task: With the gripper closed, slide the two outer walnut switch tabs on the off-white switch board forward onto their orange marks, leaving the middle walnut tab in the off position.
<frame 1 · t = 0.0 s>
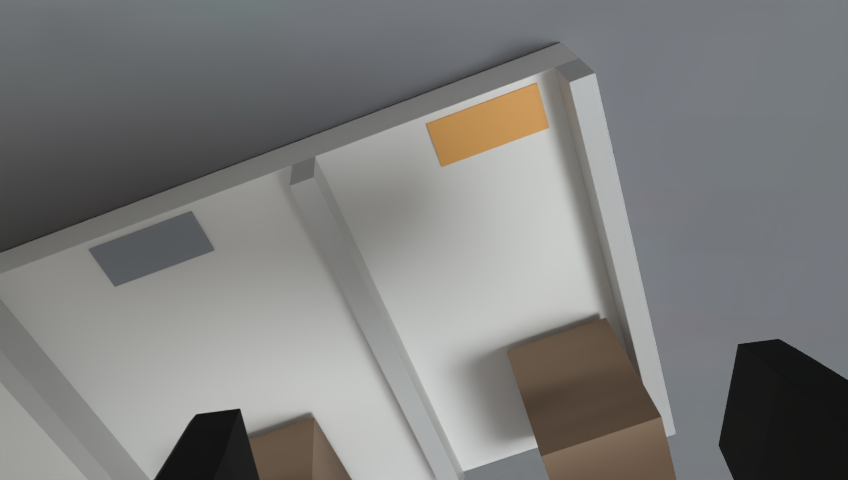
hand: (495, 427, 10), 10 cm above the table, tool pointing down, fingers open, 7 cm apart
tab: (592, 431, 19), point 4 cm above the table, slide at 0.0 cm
switch board: (251, 358, 22), on the table
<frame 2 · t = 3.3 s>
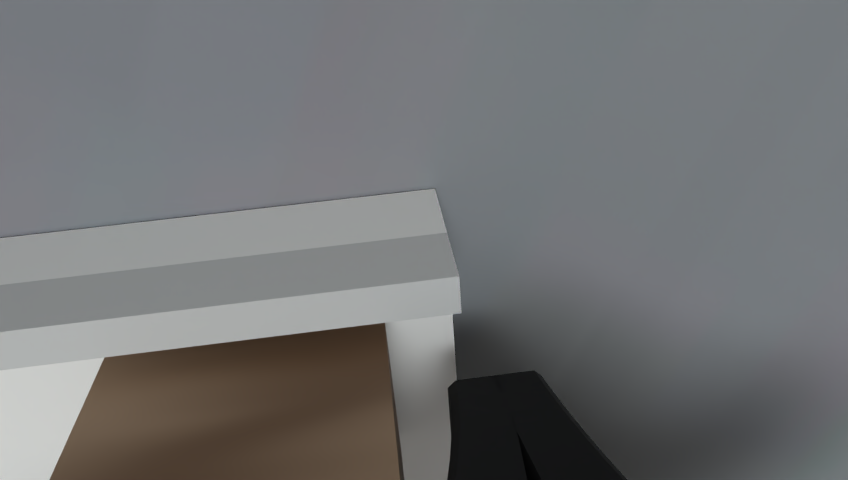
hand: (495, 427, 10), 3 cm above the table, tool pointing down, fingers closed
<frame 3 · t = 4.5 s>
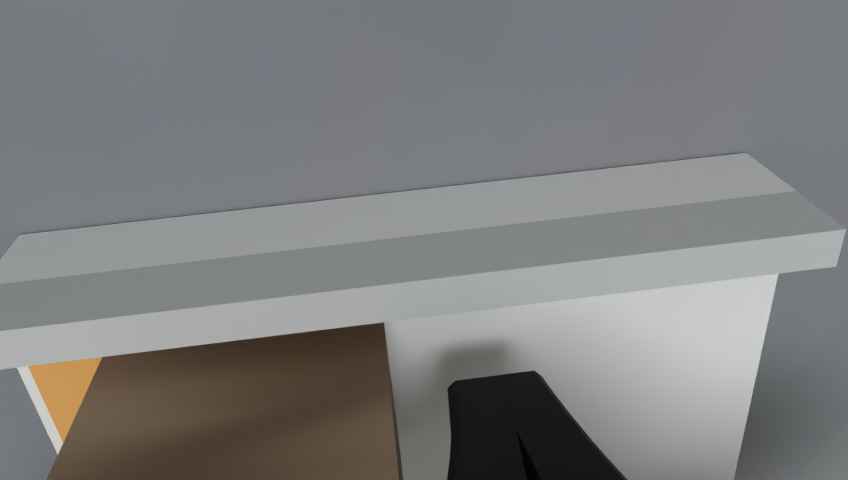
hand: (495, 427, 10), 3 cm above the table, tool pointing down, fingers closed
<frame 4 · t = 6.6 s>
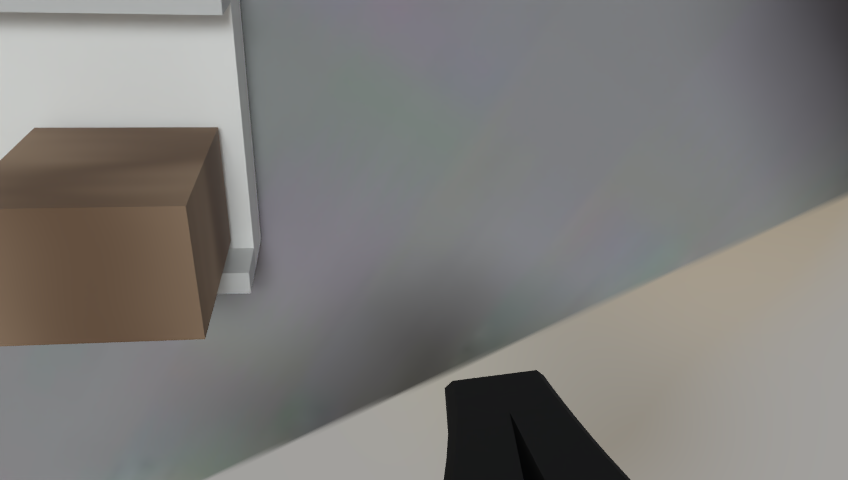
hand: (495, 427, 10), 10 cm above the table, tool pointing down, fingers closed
tab 1: (115, 227, 15), point 4 cm above the table, slide at 0.0 cm
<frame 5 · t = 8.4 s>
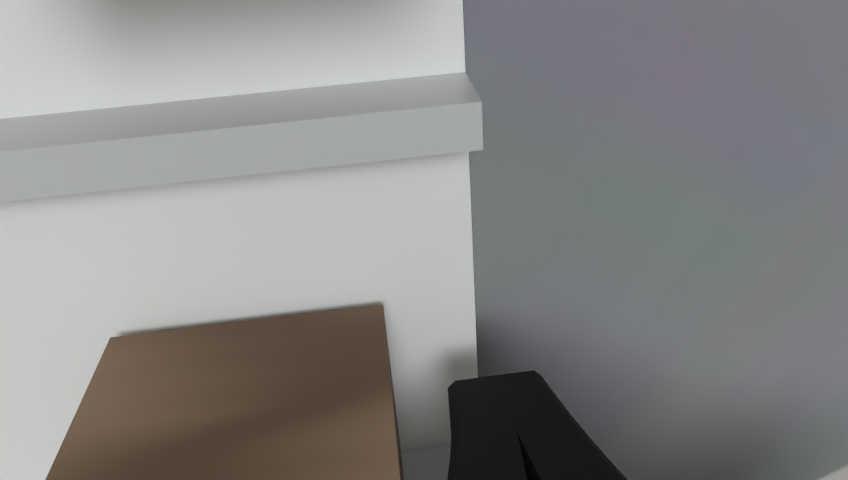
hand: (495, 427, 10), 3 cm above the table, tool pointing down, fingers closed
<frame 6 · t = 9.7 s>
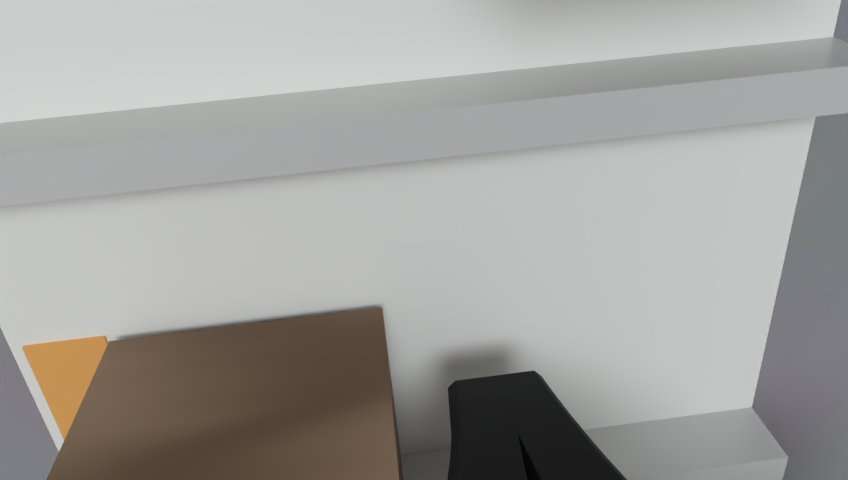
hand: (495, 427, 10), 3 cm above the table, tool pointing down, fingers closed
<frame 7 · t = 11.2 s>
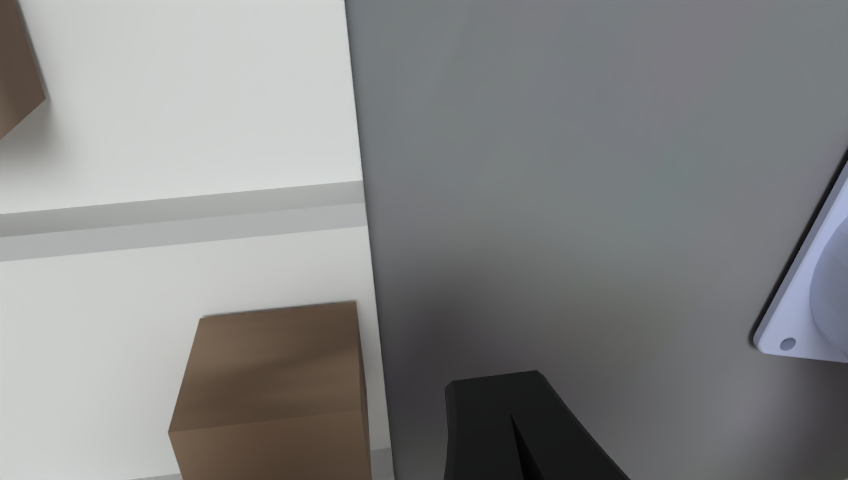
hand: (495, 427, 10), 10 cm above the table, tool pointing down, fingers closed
switch board: (168, 329, 20), on the table
tab middle: (282, 407, 17), point 4 cm above the table, slide at 0.0 cm
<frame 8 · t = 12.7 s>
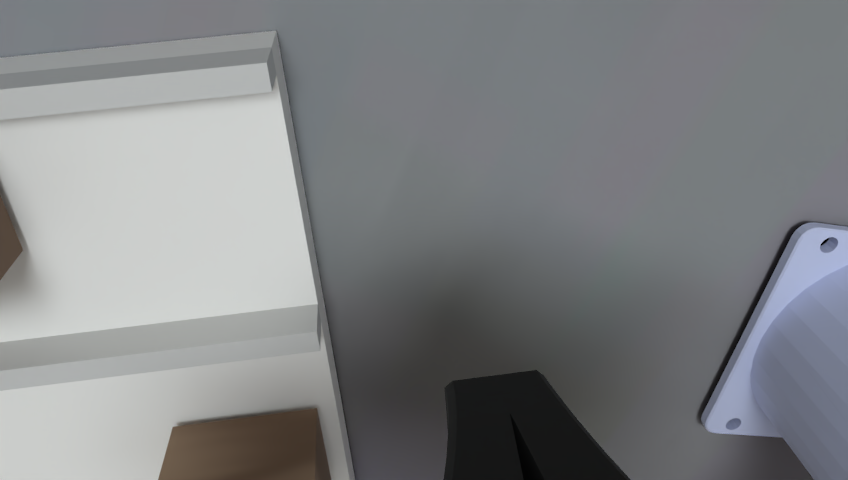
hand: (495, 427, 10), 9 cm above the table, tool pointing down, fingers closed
switch board: (147, 426, 22), on the table
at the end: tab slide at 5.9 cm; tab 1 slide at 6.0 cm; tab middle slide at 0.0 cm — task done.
